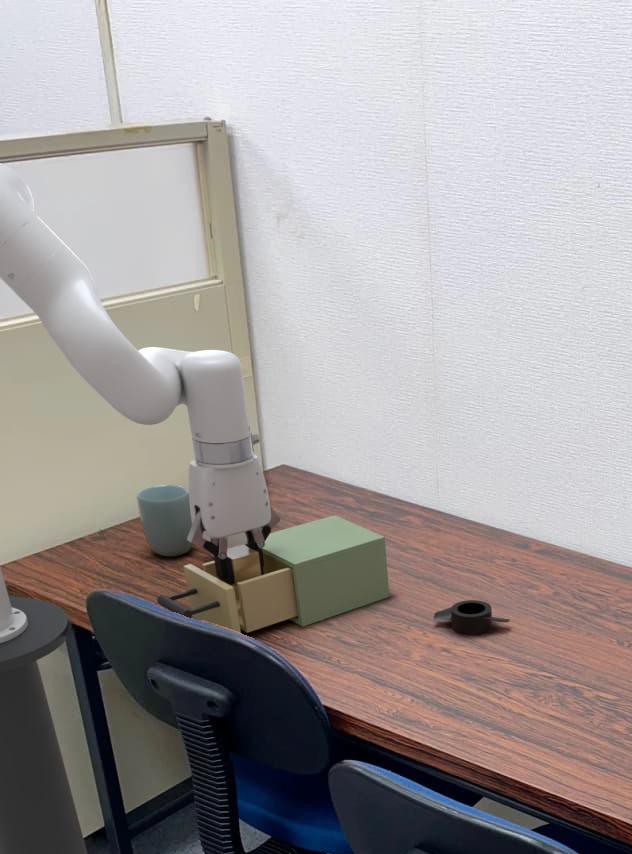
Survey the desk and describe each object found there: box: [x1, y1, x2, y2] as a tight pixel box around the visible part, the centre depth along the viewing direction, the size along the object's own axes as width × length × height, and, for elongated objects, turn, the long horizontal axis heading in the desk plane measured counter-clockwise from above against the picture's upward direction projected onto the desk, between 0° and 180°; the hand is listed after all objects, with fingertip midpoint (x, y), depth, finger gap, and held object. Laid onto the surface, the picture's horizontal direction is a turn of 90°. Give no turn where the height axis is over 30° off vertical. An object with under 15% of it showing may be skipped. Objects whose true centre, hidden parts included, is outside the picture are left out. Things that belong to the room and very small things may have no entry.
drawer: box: [156, 553, 298, 634], centre depth 169 cm, size 20×11×8 cm, turn 136°
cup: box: [136, 484, 194, 558], centre depth 192 cm, size 8×8×10 cm
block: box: [227, 545, 261, 586], centre depth 167 cm, size 4×4×4 cm
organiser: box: [246, 514, 390, 628], centre depth 177 cm, size 16×13×10 cm
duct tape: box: [433, 599, 511, 636], centre depth 172 cm, size 8×10×3 cm
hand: (241, 576), depth 168 cm, fingers closed on block, 4 cm apart
